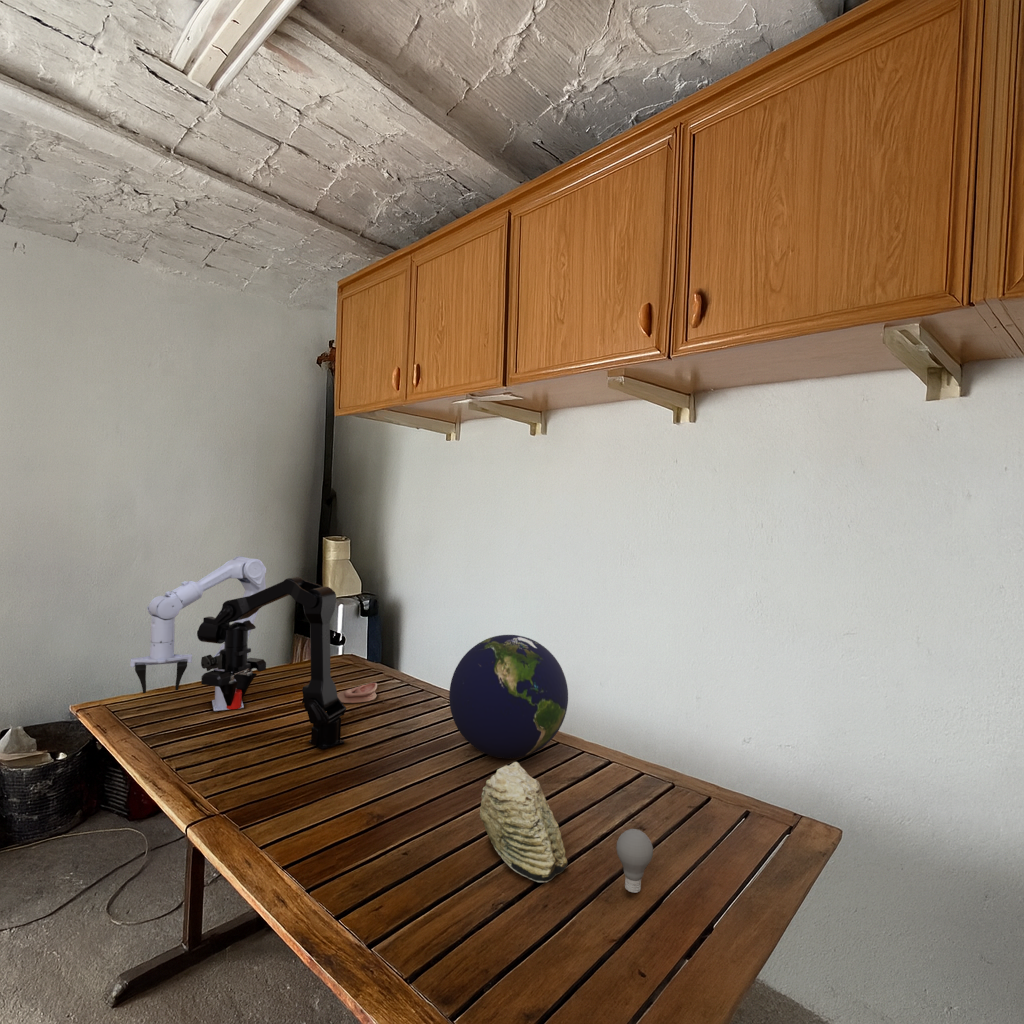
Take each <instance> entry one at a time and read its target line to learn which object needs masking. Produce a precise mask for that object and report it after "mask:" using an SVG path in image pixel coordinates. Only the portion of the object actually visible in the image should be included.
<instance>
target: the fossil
mask: <svg viewBox="0 0 1024 1024" xmlns="http://www.w3.org/2000/svg"><path fill="white" fill-rule="evenodd" d="M479 819H480V820H481V822H482V823H483V827H484V829H485V832H486V833H487V836H488V838H489V840H490V842H491V844H492V845H493V848H494V850H495V852H496V853H497V854H498V856H500V858H501V859H502V861H503V862H504V863H505V864H506V865H507V867H509V868H510V869H511V870H513V871H514V873H517V874H519V875H520V876H522V877H525V878H527V879H528V880H531V881H533V882H536V883H548V882H550V881H552V880H553V879H554V878H555V877H556V876H557V875H560V874H561V873H563V872H564V871H565V870H566V868H567V867H568V866H569V863H568V859H567V856H566V848H565V847H564V841H563V838H562V834H561V831H560V826H559V824H558V822H557V821H556V818H555V817H554V813H553V811H552V810H551V807H550V805H549V803H548V802H547V799H546V796H545V794H544V790H543V789H542V786H541V784H540V781H539V780H537V779H535V778H533V777H532V776H531V775H529V773H528V772H527V771H526V769H524V768H523V766H521V764H520V763H519V762H518V761H513V762H512V763H511V764H509V765H507V764H506V765H504V766H502V767H500V768H498V769H497V770H496V772H495V773H494V774H492V775H491V776H490V778H489V779H487V780H486V782H485V786H483V788H482V792H481V802H480V808H479Z"/></svg>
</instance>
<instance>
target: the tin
mask: <svg viewBox="0 0 1024 1024" xmlns="http://www.w3.org/2000/svg"><path fill="white" fill-rule="evenodd" d="M242 702H243V699H242V690H240V689H236V690H235V694H234V698H233V701H232V704H231V706H226V708H227V709H231V710H239V709H238V708H240V709H242V708H241V704H242Z"/></svg>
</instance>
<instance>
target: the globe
mask: <svg viewBox="0 0 1024 1024" xmlns="http://www.w3.org/2000/svg"><path fill="white" fill-rule="evenodd" d="M449 684H450V685H449V694H448V697H449V700H448V701H449V708H450V712H451V713H450V714H451V716H452V719H453V722H454V724H455V726H456V728H457V730H458V731H459V733H460V735H461V736H462V737H463V738H464V739H465V741H467V743H468V744H470V745H471V746H472V747H473V748H475V749H476V750H477V751H480V752H481V753H483V754H485V755H488V756H491V757H493V758H498V759H507V760H508V759H509V760H511V759H521V758H525V757H527V756H530V755H533V754H534V753H537V752H538V751H540V750H541V749H543V748H544V747H546V746H547V745H548V744H549V743H550V742H551V741H552V740H553V738H555V736H556V735H557V734H558V732H559V731H560V728H561V727H562V725H563V723H564V720H565V719H566V715H567V711H568V705H569V689H568V687H569V686H568V683H567V679H566V674H565V673H564V670H563V668H562V666H561V664H560V663H559V661H558V660H557V658H556V657H555V655H554V654H552V652H551V651H550V650H549V649H548V648H547V647H545V646H544V645H542V644H541V643H539V642H538V641H536V640H534V639H532V638H530V637H526V636H523V635H517V634H501V635H494V636H491V637H488V638H486V639H483V640H482V641H480V642H478V643H476V644H475V645H474V646H473V647H471V648H470V649H469V650H468V651H467V652H466V653H465V654H464V655H463V657H461V659H460V660H459V662H458V663H457V666H456V667H455V669H454V671H453V673H452V678H451V681H450V683H449Z"/></svg>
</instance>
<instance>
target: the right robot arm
mask: <svg viewBox="0 0 1024 1024" xmlns="http://www.w3.org/2000/svg"><path fill="white" fill-rule="evenodd" d="M288 596H290V597H291V598H292V599H293V600H294V601H295V602H296V603H298V604H300V605H302V606H303V612H304V615H305V617H306V619H307V621H308V622H309V626H310V627H309V636H310V638H309V639H310V641H309V642H310V645H309V646H310V680H309V683H308V684H306V685H304V686H302V688H301V689H302V690H301V692H302V700H301V701H302V702H301V704H303V707H304V710H305V712H306V713H307V716H308V719H309V723H310V724H312V727H311V730H310V731H311V732H310V733H311V735H310V739H309V740H308V743H309V744H310V745H313V746H314V747H316V748H318V749H320V750H327V749H329V748H333V747H336V746H340V745H343V744H344V743H345V741H344V740H343V739H341V737H342V735H341V733H342V717H343V716H345V714H346V711H347V707H346V706H345V704H344V703H342V702H341V701H340V700H339V698H338V696H337V693H338V691H337V686H336V683H335V682H334V680H333V679H332V676H331V675H332V674H331V619H332V618H333V615H334V612H335V610H336V605H337V603H336V602H337V594H336V592H335V591H334V590H333V588H331V587H330V586H322V585H321V584H319V583H315V582H311V581H308V580H306V579H303V578H302V577H299V576H294V577H293V576H292V577H289V578H286V579H284V580H282V581H280V582H278V583H276V584H274V585H271V586H269V587H266V589H264V590H262V591H260V592H258V593H255V594H253V595H251V596H247V597H243V596H242V597H238V598H234V599H229V600H226V601H224V602H222V607H221V609H220V611H219V612H218V614H217V615H216V617H214V616H205V617H203V618H202V619H203V620H202V621H203V622H201V624H200V625H199V627H198V630H197V631H196V637H197V639H198V641H200V642H202V643H210V644H218V645H222V644H224V643H225V646H224V649H222V650H221V651H220V655H219V656H215V655H214V656H215V657H214V656H213V655H212V654H208V655H204V656H201V661H200V666H201V668H202V669H203V670H204V669H205V670H206V672H204V673H203V674H202V675H201V681H200V683H201V685H203V686H210V687H211V686H212V687H215V686H217V687H220V689H221V691H222V693H223V696H224V699H225V702H226V705H227V706H231V704H232V701H233V698H234V694H235V690H236V689H240V690H242V700H243V699H244V697H245V695H246V693H247V691H248V689H249V688H250V685H252V682H253V680H254V679H255V677H257V675H258V674H257V673H255V672H253V669H256V671H257V672H259V673H260V672H263V671H265V670H267V662H266V661H265V659H264V658H256V657H247V653H248V654H249V653H252V648H251V647H248V646H249V638H248V630H251V631H252V630H255V629H256V627H257V626H256V625H254V624H255V623H254V624H252V623H251V622H250V620H248V621H244V622H243V623H241V622H235V623H234V621H238V620H241V619H245V618H248V617H250V616H252V615H253V614H254V613H256V612H257V611H258V612H259V610H260V609H262V608H263V607H265V606H267V605H269V604H272V603H274V602H276V601H278V600H281V599H283V598H286V597H288ZM258 612H257V613H258ZM215 668H218V670H224V671H217V670H214V669H215ZM231 672H232V673H231ZM234 678H235V680H236V681H234Z"/></svg>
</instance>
